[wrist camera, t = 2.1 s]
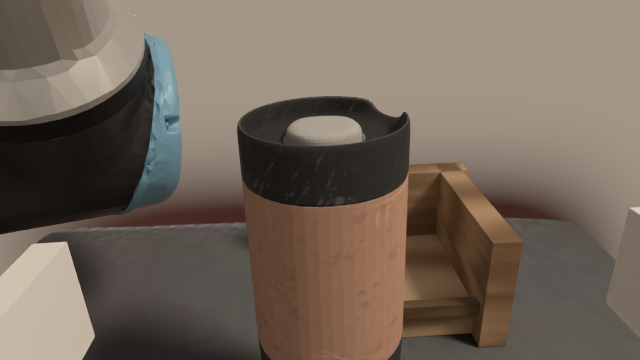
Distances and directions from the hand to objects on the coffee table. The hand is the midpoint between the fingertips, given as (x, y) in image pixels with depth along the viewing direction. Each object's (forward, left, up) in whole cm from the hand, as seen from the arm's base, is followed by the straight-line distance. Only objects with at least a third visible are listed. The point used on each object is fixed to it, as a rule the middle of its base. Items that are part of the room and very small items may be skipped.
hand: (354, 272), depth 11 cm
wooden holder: (-7, +23, -19) cm, 31 cm away
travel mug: (-5, +9, -19) cm, 22 cm away
